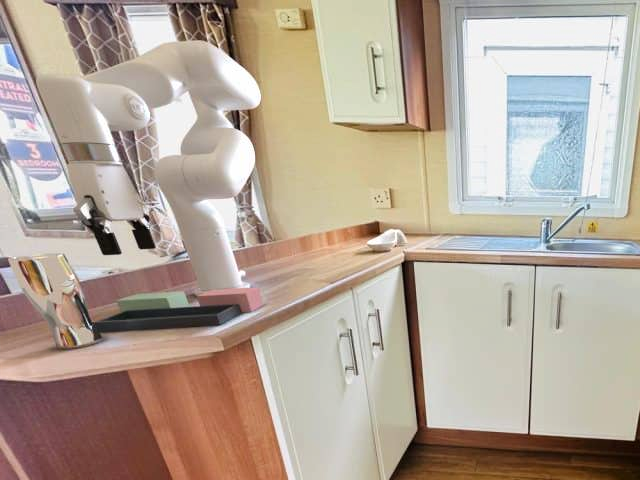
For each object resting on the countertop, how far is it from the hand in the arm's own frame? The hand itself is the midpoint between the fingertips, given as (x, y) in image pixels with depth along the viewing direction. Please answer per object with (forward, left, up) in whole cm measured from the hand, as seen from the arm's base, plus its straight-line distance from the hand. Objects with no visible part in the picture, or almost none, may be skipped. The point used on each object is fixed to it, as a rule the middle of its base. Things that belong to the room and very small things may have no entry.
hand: (131, 251), depth 86 cm
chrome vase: (+19, -1, -13) cm, 23 cm away
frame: (+8, +8, -13) cm, 17 cm away
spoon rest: (-94, +34, -13) cm, 101 cm away
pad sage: (0, 0, -13) cm, 13 cm away
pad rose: (0, +16, -13) cm, 21 cm away
